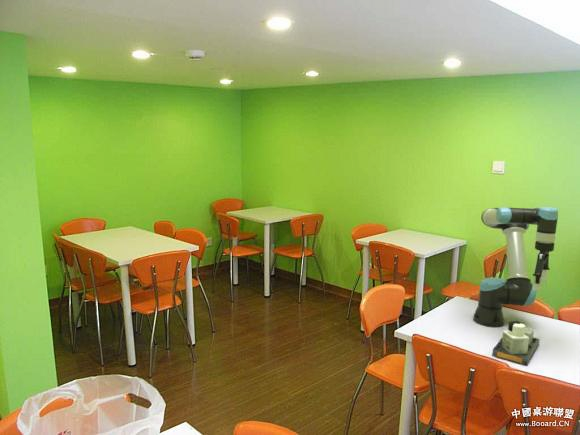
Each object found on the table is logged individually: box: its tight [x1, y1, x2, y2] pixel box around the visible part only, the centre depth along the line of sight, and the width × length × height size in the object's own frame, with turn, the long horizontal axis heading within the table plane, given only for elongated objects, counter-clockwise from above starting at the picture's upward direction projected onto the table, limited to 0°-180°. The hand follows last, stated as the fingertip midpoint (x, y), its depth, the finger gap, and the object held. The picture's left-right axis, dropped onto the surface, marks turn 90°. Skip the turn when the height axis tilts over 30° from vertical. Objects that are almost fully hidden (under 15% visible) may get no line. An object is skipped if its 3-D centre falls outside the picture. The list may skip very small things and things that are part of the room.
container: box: [501, 320, 529, 354], centre depth 200 cm, size 8×8×13 cm
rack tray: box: [492, 336, 540, 367], centre depth 205 cm, size 14×27×3 cm, turn 142°
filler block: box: [524, 326, 535, 345], centre depth 210 cm, size 9×8×6 cm
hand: (539, 286), depth 206 cm, fingers open, 13 cm apart
